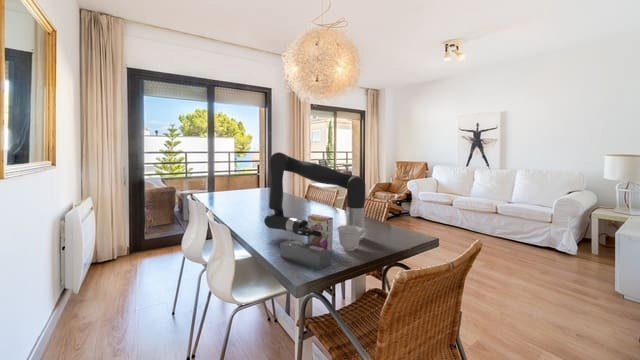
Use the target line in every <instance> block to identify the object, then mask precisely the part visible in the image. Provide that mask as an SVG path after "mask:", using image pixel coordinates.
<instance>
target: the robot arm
mask: <svg viewBox="0 0 640 360" xmlns="http://www.w3.org/2000/svg"><path fill="white" fill-rule="evenodd" d="M269 167H270V168H269V169H270V187H269V189H270V190H269V199H268V200H269V201H268V208H269V209H270V210H273V212H274V213H271V214H267V215H266V216H265V217H264V225H265V226H266V227H267V228H268V229H273V230H274V229H275V230H283V231H286V232H289V233H291V234H295V235H297V236H302V237H303V236H304V237H308V236H310V235H311V236H318V237H320V236H321V232H319V231H315V230H311V229H310V228H308V220H305V219H302V218H297V217H291V216H285V215H284V214H285V213H284V209H283V203H284V184H283V181H284V172H289V173H294V174H295V175H299V176H300V177H301V178H305V179H306V180H310V181H313V182H316V183H319V184H324V185H331V186H337V187H339V188H343V189H346V213H345V214H346V216H345V218H346V219H345V225H351V226H357V227H360V228H365V203H366V182H365V181H364V179H363V178H362V177H361V176H359V175H354V174H349V173H344V172H340V171H338V170H336V169H333V168H330V167H328V166H325V165H322V164H319V163H315V162H311V161H310V162H309V161H305V160H299V159H296V158H294V157H292V156H289V155H287V154H286V153H284V152H278V151H277V152H273V153H272V155H270V158H269ZM308 229H309V230H308ZM364 233H365V230H363V231H362V233H361V234H360V236H362V235H363V234H364ZM364 238H365V237H363V238H361V239H360V240H359V242H361V241H363V240H364Z"/></svg>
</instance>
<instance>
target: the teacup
mask: <svg viewBox="0 0 640 360" xmlns="http://www.w3.org/2000/svg"><path fill="white" fill-rule="evenodd" d="M336 230H337V232H338V240H339V244H340V246H341V247H342V250H343V251H345V252H354V251H355V250H356V248H357V247H358V246H359V244H360V241H359V240H360V239H361V238H363V237H364V238H365V237H366V236H367V233H368V232H367V228H365V227H364V228H360V227H357V226H351V225H346V224H345V225H344V224H343V225H339V226H338V227H336ZM363 230H364V234H363V235H362V236H360V234H361V233H362V231H363ZM364 238H363V239H364Z"/></svg>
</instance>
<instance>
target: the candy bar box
mask: <svg viewBox="0 0 640 360" xmlns="http://www.w3.org/2000/svg"><path fill="white" fill-rule="evenodd" d="M307 222H308V228H310V229H311V230H315V231H319V232H321V236H320V237H318V236H311V235H310V236H307V243H306V244H310V245H313V246H317V247H320V248H324V249H327V250H330V253H332V252H333V235H334V234H333V230H334V228H333V226H334V217H331V216H327V215H321V214H315V213H313V214H309V215H307ZM308 230H309V229H308Z"/></svg>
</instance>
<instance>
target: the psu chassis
mask: <svg viewBox="0 0 640 360" xmlns="http://www.w3.org/2000/svg"><path fill="white" fill-rule="evenodd" d="M279 246H280V248H279V249H280V250H279V254H280V255H279V256H280V258H281V257H282V258H283V259H287V260H289V261H292V262H295V263H298V264H300V265H303V266H306V267H309V268H313V269H314V270H318V271H321V270H322V269H324V268H327V267H329V266H330V265H331V252H330V250H327V249H324V248H320V247H317V246H313V245H310V244H307V243H305V242H303V241H299V240H295V239H293V238H290V239H288V240H285V241H282V242H280V243H279Z"/></svg>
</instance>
